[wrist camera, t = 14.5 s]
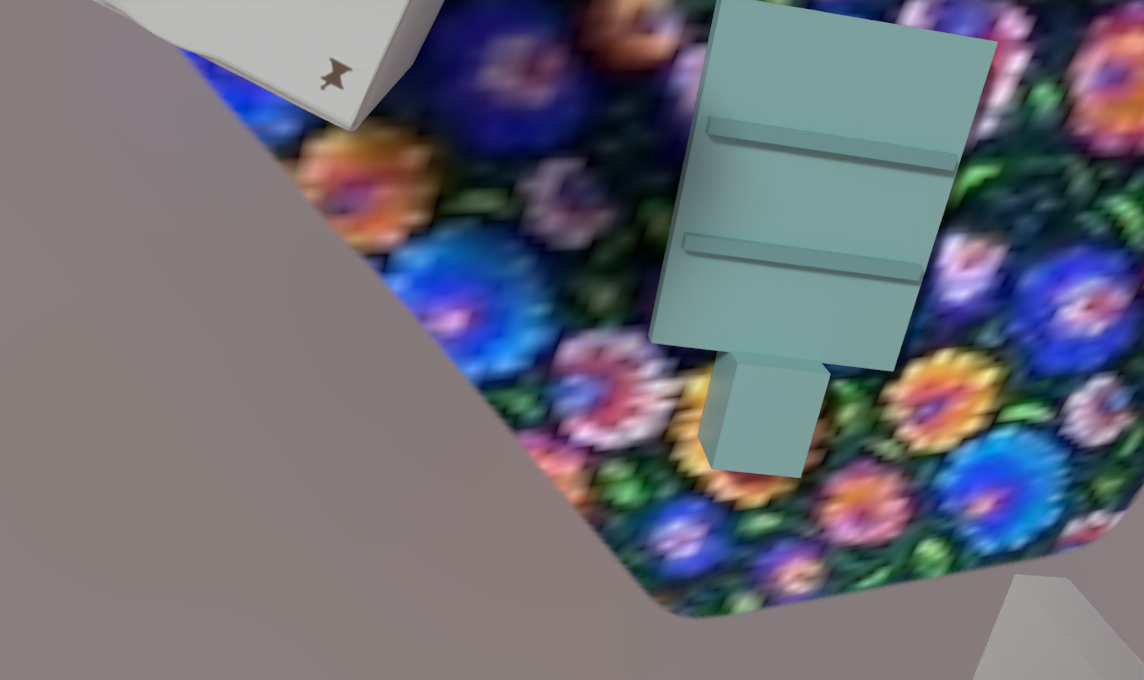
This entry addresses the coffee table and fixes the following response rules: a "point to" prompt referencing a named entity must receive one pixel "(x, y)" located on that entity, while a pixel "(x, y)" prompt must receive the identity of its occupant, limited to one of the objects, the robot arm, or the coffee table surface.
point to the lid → (807, 211)
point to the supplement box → (299, 45)
